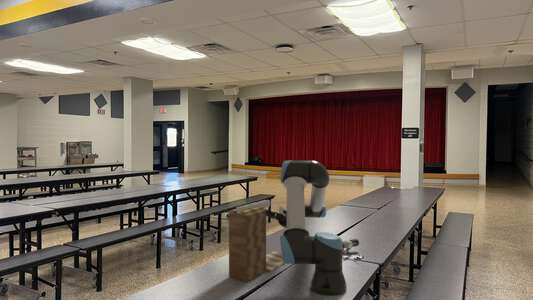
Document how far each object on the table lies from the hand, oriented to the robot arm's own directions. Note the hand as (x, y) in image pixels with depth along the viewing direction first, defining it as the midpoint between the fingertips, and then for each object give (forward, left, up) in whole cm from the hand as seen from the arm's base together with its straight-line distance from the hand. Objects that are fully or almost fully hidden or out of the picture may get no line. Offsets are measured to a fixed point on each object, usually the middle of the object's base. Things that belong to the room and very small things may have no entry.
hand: (268, 207), depth 188 cm
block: (-7, +11, +1) cm, 13 cm away
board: (+2, -3, -29) cm, 29 cm away
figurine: (-2, -41, -29) cm, 50 cm away
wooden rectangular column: (-9, +16, -29) cm, 34 cm away
